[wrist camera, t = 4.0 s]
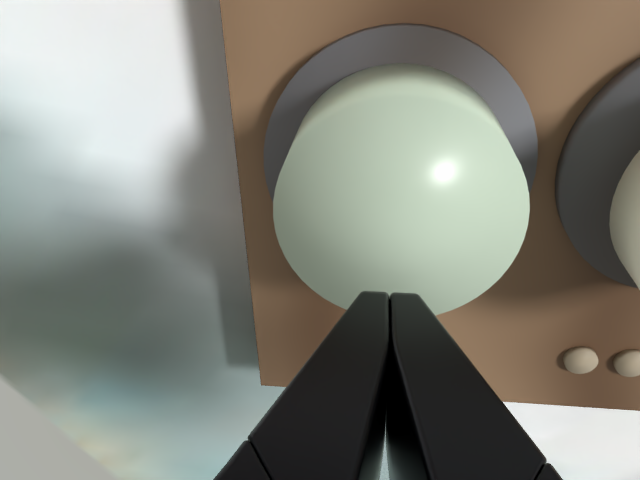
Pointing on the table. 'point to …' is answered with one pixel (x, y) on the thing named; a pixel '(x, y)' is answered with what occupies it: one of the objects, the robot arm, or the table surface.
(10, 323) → the table surface
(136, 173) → the table surface
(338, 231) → the sage button
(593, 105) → the button board
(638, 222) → the cream button
